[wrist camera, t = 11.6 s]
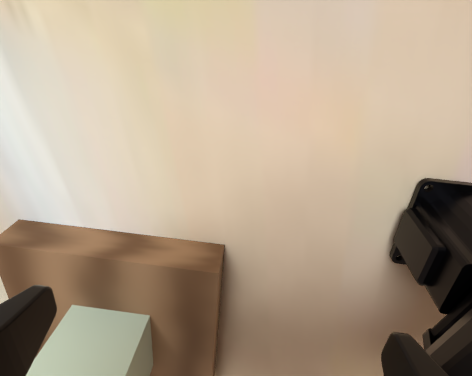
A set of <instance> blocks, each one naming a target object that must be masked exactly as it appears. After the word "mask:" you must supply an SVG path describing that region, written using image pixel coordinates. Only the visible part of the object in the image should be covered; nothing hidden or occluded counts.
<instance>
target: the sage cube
mask: <svg viewBox="0 0 472 376" xmlns="http://www.w3.org/2000/svg"><path fill="white" fill-rule="evenodd" d="M152 367H153V352H152V338H151V324H150V315H143V314H135V313H128V312H121V311H114V310H106V309H99V308H92V307H84V306H77V305H72V306H71V307H70V309H69V310H68V312H67V313H66V314H65V316H64V317H63V319H62V320H61V322H60V323H59V324H58V326H57V327H56V329H55V330H54V332H53V333H52V335H51V336H50V337H49V339H48V340H47V342H46V343H45V345H44V346H43V348H42V349H41V350H40V352H39V353H38V355H37V356H36V358H35V359H34V361H33V363H32V365H31V367H30V369H29V371H28V373H27V374H26V376H150V373H151V370H152Z"/></svg>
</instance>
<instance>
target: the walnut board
mask: <svg viewBox="0 0 472 376" xmlns="http://www.w3.org/2000/svg"><path fill="white" fill-rule="evenodd" d="M223 258H224V245H220V244H212V243H204V242H196V241H188V240H180V239H172V238H164V237H156V236H148V235H139V234H131V233H123V232H115V231H107V230H99V229H91V228H83V227H75V226H67V225H58V224H50V223H42V222H34V221H26V220H18V221H17V222H15V223H14V224H13V225H12V226H10V227H9V228H8V229H7V230H5V231H4V232H3V233H2V234H0V276H1V279H2V282H3V284H4V287H5V290H6V292H7V295H8V298H9V299H10V298H12V297H14V296H15V295H17V294H19V293H21V292H22V291H24V290H26V289H27V288H29V287H31V286H33V285H43V286H49V287H51V288H52V290H53V294H54V298H55V301H56V305H57V313H56V316H55V318H54V320H53V322H52V324H51V326H50V328H49V330H48V332H47V335H46V337H45V339H44V341H43V343H42V345H41V347H40V349H39V351H38V353H39V352H40V350H41V349H42V348H43V346H44V345H45V343H46V342H47V340H48V339H49V337H50V336H51V335H52V333H53V332H54V330H55V329H56V327H57V326H58V324H59V323H60V322H61V320H62V319H63V317H64V316H65V314H66V313H67V312H68V310H69V309H70V307H71V306H72V305H77V306H84V307H92V308H99V309H106V310H114V311H121V312H128V313H135V314H143V315H150V324H151V338H152V352H153V367H152V370H151V373H150V376H214V374H215V362H216V349H217V336H218V323H219V310H220V297H221V284H222V271H223ZM38 353H37V355H38ZM37 355H36V356H37ZM35 358H36V357H35Z"/></svg>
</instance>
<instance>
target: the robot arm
mask: <svg viewBox="0 0 472 376" xmlns="http://www.w3.org/2000/svg"><path fill="white" fill-rule="evenodd" d="M427 185H430V187H429V188H427V189H424V188H425V186H427ZM394 242H395V243H394V245H393V248H392V250H391V253H390V257H391V259H392V261H393V262H395V263H399V264H407V266H408V267H409V269H410V271H411V273H412V275H413V276H414V278H415V280H416V281H417V283H418V284H419V285H423V286H425V287H426V289H427V291H428V292H429V294H430V296H431V298H432V299H433V301H434V303H435V304H436V306H437V308H438V310H439V311H440V313H443V314H447V315H446V316H445V317H444V318H443V319H442V320H441V321H440V322H439V323H438V324H437V325H435V326H434V327H433V328H432V329H428V330H427V331H426V332H425V333H424V334H423V343H424V349H423V348H422V347H421V346H420V345H419V344H418V343H417V342H416V341H415V340H414V339H413V338H412V337H411V336H410V335H408V334H404V333H397V332H393V333H391V334H390V336H389V338H388V340H387V342H386V344H385V346H384V348H383V351H382V354H381V361H382V367H383V373H384V376H472V183H468V182H459V181H450V180H440V179H431V178H425V179H423V180H421V181H420V182H419V183H418V185H417V187H416V190H415V192H414V195H413V197H412V200H411V202H410V205H409V207H408V208H407V209H406V210H405V212H404V214H403V217H402V219H401V222H400V224H399V227H398V229H397V232H396V234H395V237H394ZM398 255H400V256H399V257H396V256H398ZM56 313H57V305H56V301H55V298H54V294H53V290H52V288H51V287H49V286H43V285H33V286H31V287H29V288H27V289H26V290H24V291H22V292H21V293H19V294H17V295H15V296H14V297H12V298H10V299H8V300H7V301H5V302H3V303H1V304H0V376H26V374H27V373H28V371H29V369H30V367H31V365H32V363H33V361H34V359H35V357H36V355H37V353H38V351H39V349H40V347H41V345H42V343H43V341H44V339H45V337H46V335H47V332H48V330H49V328H50V326H51V324H52V322H53V320H54V318H55V316H56Z"/></svg>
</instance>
